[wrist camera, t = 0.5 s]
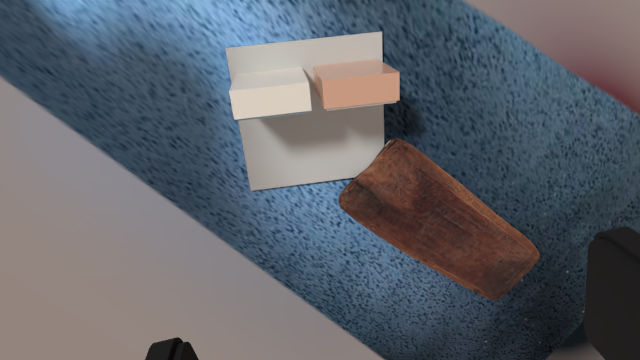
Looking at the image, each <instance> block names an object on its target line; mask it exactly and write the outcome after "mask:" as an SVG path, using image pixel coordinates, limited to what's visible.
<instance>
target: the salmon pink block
mask: <svg viewBox="0 0 640 360" xmlns="http://www.w3.org/2000/svg"><path fill="white" fill-rule="evenodd" d="M313 74H314V85H315V91H316V93H317V95H318V97H319V99H320V101H321V103H322V105H323V107H324V109H326V110H327V111H328V110H337V109H345V108H354V107H362V106H371V105H380V104H388V103H396V101H398V100H400V93H399V72H398V71H397V70H395V69H393V68H392V67H390V66H388V65H387V64H385V63H383V62H382V61H380V60H378V59H372V60H363V61H354V62H345V63H336V64H326V65H317V66H313Z"/></svg>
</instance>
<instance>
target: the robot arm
mask: <svg viewBox="0 0 640 360" xmlns="http://www.w3.org/2000/svg"><path fill="white" fill-rule="evenodd" d="M584 331H585V334H586V336H587V338H588V340H589V342H590V343H591V344H592V345H593V346H594V348H596V350H597V351H598V352H599V353H600V354H601V355H602V356H603V357H604V359H605V360H640V234H639V233H637V232H636V231H634V230H633V229H631V228H629V227H624V226H623V227H619V228H615V229H611V230H607V231H603V232H599V233H597V234H596V235H595V236H594V241H591V242H590V243H589V247H588V264H587V281H586V298H585V315H584ZM145 360H198V358H197V356H196V354H195V352H194V350H193V348H192V346H191V344H190V343H189V342H184V343H183V341H182V340H181V339H180V338H173V339H169V340H165V341H161V342H157V343H153V344H152V345H151V347H150V348H149V351H148V354H147V356H146V359H145Z"/></svg>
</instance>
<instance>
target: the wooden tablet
mask: <svg viewBox="0 0 640 360" xmlns="http://www.w3.org/2000/svg"><path fill="white" fill-rule="evenodd" d="M339 205H340V207H341V209H343V210H344V211H345V212H346V213H348V214H349V215H350V216H351V217H353V218H354V219H355V220H356V221H358V222H359V223H360V224H362V225H363V226H365V227H366V228H368V229H369V230H370V231H372V232H373V233H375V234H376V235H378V236H380V237H381V238H382V239H384V240H386V241H387V242H388V243H390V244H392V245H393V246H395V247H396V248H398V249H400V250H402V251H403V252H404V253H406V254H408V255H409V256H411V257H413V258H415V259H417V260H418V261H420V262H422V263H424V264H425V265H427V266H429V267H430V268H432V269H434V270H436V271H438V272H439V273H441V274H443V275H445V276H446V277H448V278H450V279H452V280H454V281H455V282H457V283H459V284H461V285H463V286H464V287H466V288H468V289H471V290H473V292H476V293H478V294H480V295H482V296H484V297H486V298H489V299H492V300H499V299H500V298H502V297H503V296H504V295H505V294H506V293H507V292H508V291H509V290H510V289H511V288H512V287H513V286H514V285H516V284H517V283H518V282H519V281H520V280H521V278H522V275H525V274H526V273H527V272H528V271H529V270H530V269H531V268H532V267H533V266H534V264H535V263H536V262H537V260H538V259H539V257H540V254H539V252H538V250H537V249H536V247H535V246H534V245H533V244H532V242H531V241H530V240H528V239H527V238H526V237H525V236H524V235H523V234H521V233H520V232H519V231H517V230H516V229H515V228H514V227H512V226H511V225H510V224H508V223H507V222H506V221H505V220H504V219H502V218H501V217H500V216H499V215H497V214H496V213H495V212H493V211H492V210H491V209H490V208H489V207H487V206H486V205H485V204H484V203H483V202H482V201H480V200H479V199H478V198H477V197H476V196H474V195H473V194H472V193H471V192H470V191H469V190H467V189H466V188H465V187H464V186H463V185H462V184H460V183H459V182H458V181H456V180H455V179H454V178H453V177H452V176H450V175H449V174H448V173H446V172H445V171H444V170H442V169H441V168H440V167H439V166H438V165H437V164H435V163H434V162H433V161H432V160H431V159H430V158H428V157H427V156H426V155H424V154H423V153H422V152H421V151H419V150H418V149H417V148H415V147H414V146H412V145H411V144H409V143H407V142H405V141H403V140H401V139H398V138H393V139H391V140H390V141H388V143H387V144H386V145H385V146H384V147H383V149H382V150H381V151H380V152H379V154H378V155H377V156H376V158H375V159H374V161H373V162H372V163H371V164H370V165H369V166H368V167H367V168H366V169H365V170H364V171H362V172H361V173H360V174H359V175H357V176H356V177H355V178H354V179H353V180H352V181H351V182H350V183H349V184H348V186H346V187H345V189H344V190H343V191H342V193H341V194H340V196H339Z"/></svg>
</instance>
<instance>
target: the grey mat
mask: <svg viewBox="0 0 640 360" xmlns="http://www.w3.org/2000/svg"><path fill="white" fill-rule="evenodd" d="M225 49H226V55H227V60H228V66H229V72H230V77H231V83H232V82H233V80H234V77H235V75H236V74H244V73H253V72H263V71H272V70H281V69H290V68H299V67H302V69H303V71H304V73H305V75H306V77H307V79H308V81H309V89H310V99H311V109H312V111H309V113H303V114H294V115H286V116H277V117H269V118H260V119H252V120H243V121H238V122H239V127H240V133H241V139H242V144H243V150H244V155H245V161H246V167H247V172H248V178H249V183H250V189H251V191H254V190H262V189H269V188H277V187H285V186H293V185H300V184H308V183H316V182H323V181H331V180H339V179H347V178H354V177H356V176H357V175H359V174H360V173H361V172H362V171H364V170H365V169H366V168H367V167H368V166H369V165H370V164H371V163H372V162H373V161H374V159H375V158H376V156H377V155H378V154H379V152H380V151H381V150H382V149H383V147H384V104H380V105H371V106H362V107H354V108H345V109H337V110H328V111H327V110H326V109H324V107H323V105H322V103H321V101H320V99H319V97H318V95H317V93H316V91H315V85H314V74H313V66H317V65H326V64H336V63H345V62H354V61H363V60H372V59H378V60H380V61H382V62H383V57H382V32H373V33H363V34H354V35H344V36H335V37H325V38H316V39H306V40H297V41H287V42H278V43H268V44H259V45H249V46H240V47H230V48H225Z"/></svg>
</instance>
